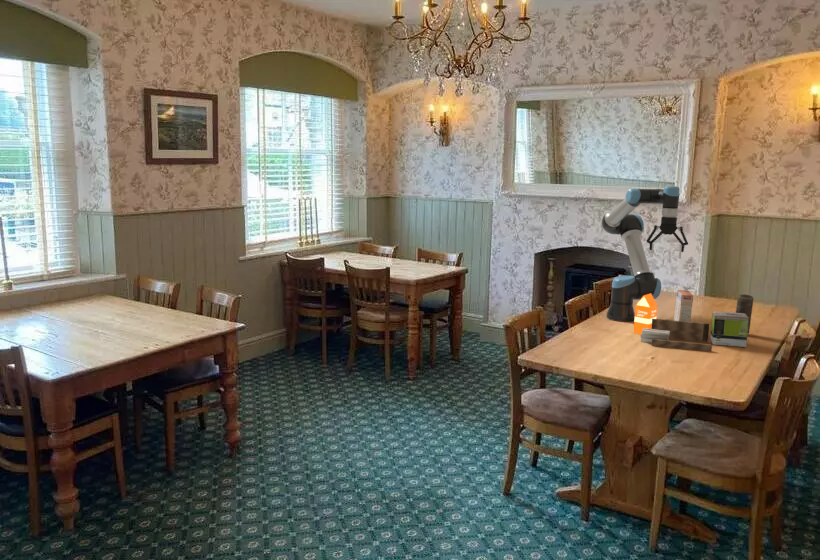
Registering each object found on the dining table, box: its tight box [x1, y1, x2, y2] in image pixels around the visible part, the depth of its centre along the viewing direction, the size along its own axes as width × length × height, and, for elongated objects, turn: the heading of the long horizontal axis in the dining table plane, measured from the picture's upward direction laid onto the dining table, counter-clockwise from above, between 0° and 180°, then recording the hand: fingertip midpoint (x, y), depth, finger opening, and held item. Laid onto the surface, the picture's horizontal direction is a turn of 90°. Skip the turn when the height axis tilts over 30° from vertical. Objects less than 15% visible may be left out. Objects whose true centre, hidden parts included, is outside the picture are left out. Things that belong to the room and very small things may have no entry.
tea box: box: [709, 310, 749, 348], centre depth 322 cm, size 15×10×15 cm, turn 73°
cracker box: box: [673, 289, 694, 322], centre depth 342 cm, size 14×6×21 cm, turn 167°
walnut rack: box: [651, 318, 713, 352], centre depth 321 cm, size 26×19×9 cm
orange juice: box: [633, 293, 658, 335], centre depth 339 cm, size 8×9×20 cm
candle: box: [735, 294, 755, 334], centre depth 340 cm, size 8×7×20 cm
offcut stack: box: [640, 328, 670, 344], centre depth 323 cm, size 6×12×6 cm, turn 65°
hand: (665, 257), depth 349 cm, fingers open, 13 cm apart
